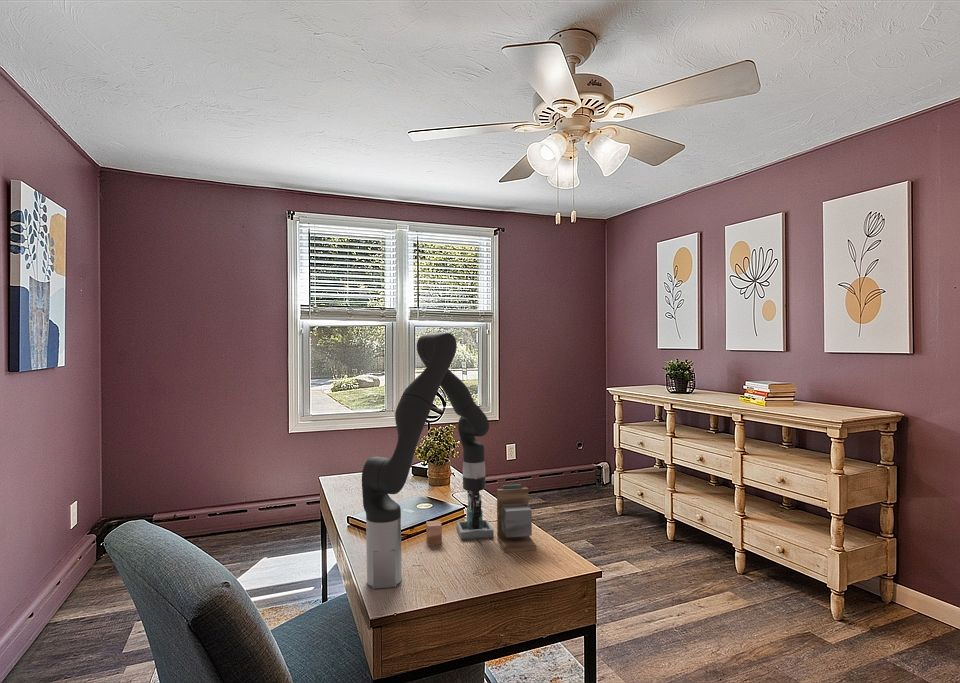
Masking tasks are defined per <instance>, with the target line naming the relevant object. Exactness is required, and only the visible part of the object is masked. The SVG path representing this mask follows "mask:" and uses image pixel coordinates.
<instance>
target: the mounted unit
mask: <svg viewBox="0 0 960 683" xmlns="http://www.w3.org/2000/svg"><path fill="white" fill-rule="evenodd" d="M529 503H530V502H529V488H528V487H522V484H521V483H520V484H505V485H504V484H503V485H502V488H496V527H497V529H496V532H497V533H496V535H497V536H496V537H497V538H496V540H497V542H498V544H499V546H500V548H501V549H502V551H503V553H512V552H513V553H514V552H524V551H526V552H527V551H535V550H537V544H536V543H535V541H534V540H533V539H532V536H533V535H532V531H533V529H532V528H533V526H532V525H533V524H532V523H533V522H532V521H533V520H532V519H533V516H532V513H533V511H532V509H531V508H530V506H529Z"/></svg>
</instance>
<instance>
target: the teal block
mask: <svg viewBox="0 0 960 683" xmlns="http://www.w3.org/2000/svg"><path fill="white" fill-rule="evenodd" d="M475 513H478V511H476V512H475ZM483 520H484V519H483V510H482V508H481V517H479V528H478V529H483ZM466 521H467V527H468V529H469V530H476V529H473V527H472V510H470V507H469V508H468V507H466Z"/></svg>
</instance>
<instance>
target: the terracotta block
mask: <svg viewBox="0 0 960 683" xmlns="http://www.w3.org/2000/svg"><path fill="white" fill-rule="evenodd" d="M425 523H426V524H425V528H426V530H425V531H426V533H425V536H426V545H427V546H431V545H432V546H433V544H435V545H443V539H442V538H443V535H442V533H443V532H442V531H443V528H442V527H443V525H442V522H441V520H431V521H430V520H429V521H426V522H425Z"/></svg>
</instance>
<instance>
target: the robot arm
mask: <svg viewBox="0 0 960 683" xmlns="http://www.w3.org/2000/svg"><path fill="white" fill-rule="evenodd" d="M457 343H458V342H457V340H456V337H455V335H453V333H451V332H446V331H445V332H440V331H439V332H431V333H424V334H422V335H420V336H419V338H418V339H417V342H416V351H417V355H418V357H419V358H420V360H421V362H422V363H423V365H424V366H425V368H424V369H423V371H422V372H421V373H420V374H419V375H418V376H417V377H416V378H414V380H412V381H411V383H410V384H409V385H408V386H407V387H406V388H405V389H404V391H403V392H402V395H401V397H400V399H399V402H398V403H397V406H396V409H395V413H394V419H395V426H396V430H397V441H396V446H395V450H394V452H393V454H392V456H391V457H383V456H371V457H370V458H368V459H367V460H366V461H365V463H364V465H363V469H362V472H361V491H362V492H361V493H362V505H363V509H364V512H365V515H366V516H365V525H366V526H365V529H366V530H365V537H366V538H365V540H366V544H365V546H366V547H365V548H366V583H367V585H368V586H370V587H371V588H372V589H373V590H374V589H375V590H376V589H386V588H387V589H388V588H396V587H397V586H398V584H400V583H401V582H402V577H403V576H402V535H401V520H402V510H401V506H400V504H398V502H396V501H395V500H393V499H392V498H391V497H390V496H389V495H396V494H399V493H400V492H401V491H402V490H403V488H404V487H405V485H406V482H407V481H408V480H407V479H408V476H409V473H410V471H411V470H410V469H411V467H412V463H413V459H414V456H415V452H416V449H417V446H418V443H419V440H420V437H421V434H422V432H423V430H424V426H426V423H427V420H428V418H429V416H430V413H431V410H432V406H433V405H434V401H435V399H436V397H437V394H438V392H439V389H440V388H442V390H443V392H444V393H445V395H446V397H447V399H448V400H449V403H450V405H451V406H452V408H453V409H452V410H453V411H454V412H455V414H456V415H457V416H459V420H458V423H457V431H458V434H459V438H460V443H461V446H462V450H463V453H462V456H463V457H462V458H463V461H462V462H463V463H462V488H463V490H465V491H466V494H467V495H466V496H467V497H466V498H467V508H469V507H470V510H472V527H473V529H478V528H479V517H481V509H482V504H483V501H482V495H481V494H480V491H484V490H485V489H486V464H485V463H486V462H485V445H484V444H483V443H481V442H480V441H478V440H477V439H476V437H484V436H485V435H487V434H488V432H489V430H490V423H489V419H488V417H487V415H486V414H485V413H484V411H483V410H482V409H481V408H480V407H479V406H478V405H477V403H476V402H475V401H474V399H473V397H472V394H471V392H470V390H469V389H468V387H467V385H466V384H465V382H463V381H462V380H461V379H460V377H458V376H457V375H455V373H453V372H452V371H451V370H450V366H451V365H452V363H453V360H454V358H455V356H456V353H457V347H458V344H457ZM476 511H478V513H475V512H476Z"/></svg>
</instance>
